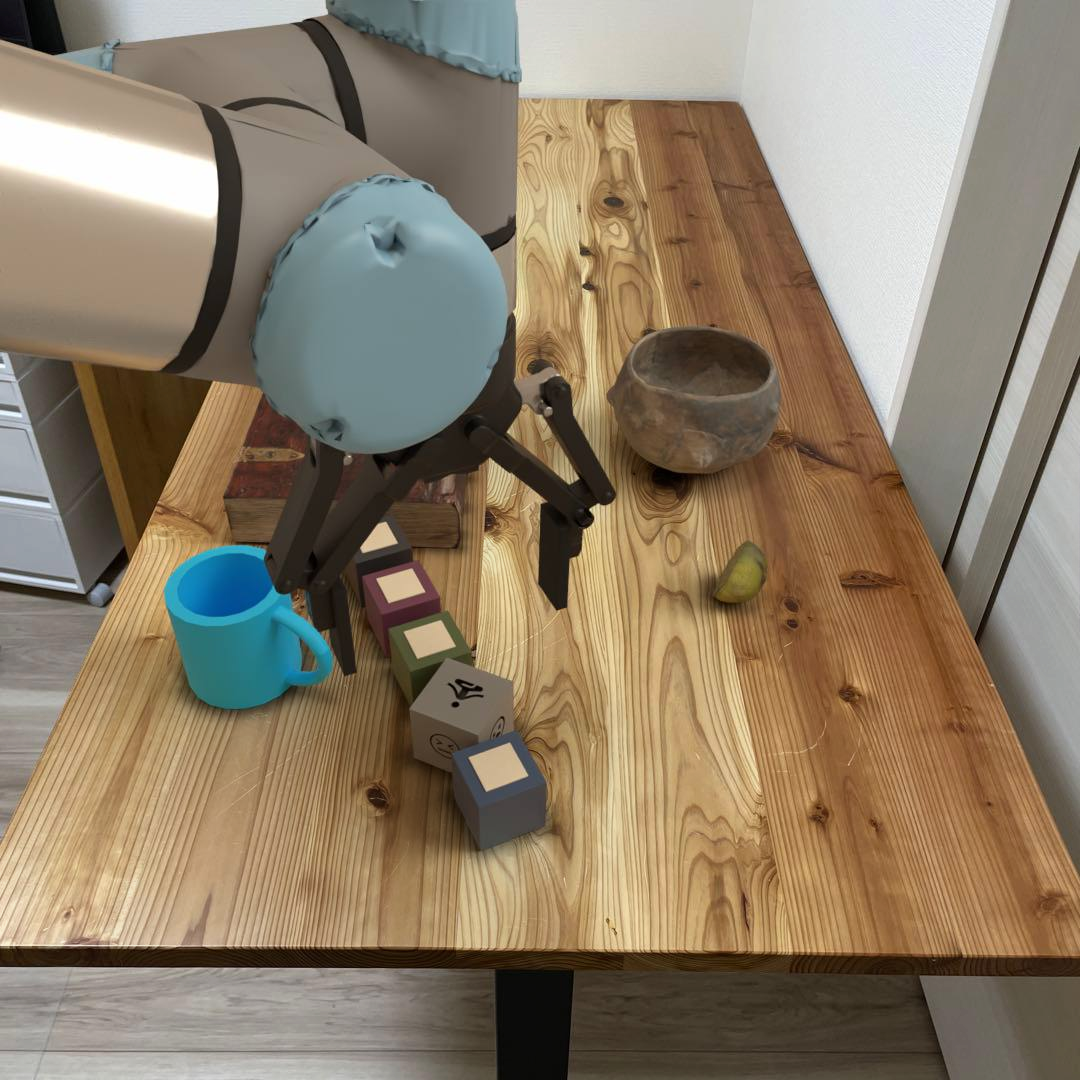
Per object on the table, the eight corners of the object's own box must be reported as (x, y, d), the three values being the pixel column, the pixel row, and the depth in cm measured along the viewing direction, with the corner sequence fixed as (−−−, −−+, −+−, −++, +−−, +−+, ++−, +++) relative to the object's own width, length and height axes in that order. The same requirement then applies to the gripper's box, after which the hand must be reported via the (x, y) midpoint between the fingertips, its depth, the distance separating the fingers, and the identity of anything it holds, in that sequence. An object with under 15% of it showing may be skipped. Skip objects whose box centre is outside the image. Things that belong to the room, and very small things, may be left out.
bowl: (580, 440, 100) (585, 346, 94) (708, 393, 107) (720, 302, 100) (672, 520, 91) (684, 422, 85) (805, 464, 98) (825, 369, 91)
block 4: (480, 851, 66) (478, 807, 63) (453, 796, 69) (450, 751, 66) (545, 825, 68) (547, 781, 65) (516, 773, 71) (516, 728, 68)
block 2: (386, 658, 79) (380, 613, 76) (367, 619, 82) (361, 574, 79) (443, 640, 80) (440, 595, 77) (422, 602, 83) (418, 558, 80)
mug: (164, 686, 76) (137, 603, 71) (234, 614, 82) (215, 532, 77) (304, 743, 73) (287, 660, 67) (368, 663, 78) (357, 581, 73)
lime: (717, 619, 82) (726, 570, 79) (697, 577, 86) (704, 530, 83) (772, 611, 83) (782, 563, 80) (750, 570, 87) (759, 522, 83)
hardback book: (460, 548, 88) (458, 500, 85) (233, 544, 88) (222, 497, 85) (479, 365, 110) (478, 321, 107) (297, 362, 110) (291, 319, 107)
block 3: (414, 715, 75) (409, 670, 72) (392, 672, 78) (387, 627, 75) (473, 695, 76) (472, 650, 73) (450, 653, 79) (447, 608, 76)
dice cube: (514, 730, 74) (513, 681, 70) (480, 784, 70) (478, 735, 67) (450, 706, 75) (446, 657, 72) (414, 758, 72) (409, 708, 68)
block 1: (361, 607, 83) (355, 562, 80) (343, 571, 86) (337, 527, 83) (415, 590, 84) (412, 546, 81) (397, 556, 87) (392, 512, 84)
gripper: (628, 238, 58) (604, 537, 72) (158, 324, 50) (232, 645, 63) (700, 298, 53) (660, 608, 67) (190, 405, 45) (263, 735, 58)
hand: (451, 626), depth 65 cm, fingers open, 13 cm apart
